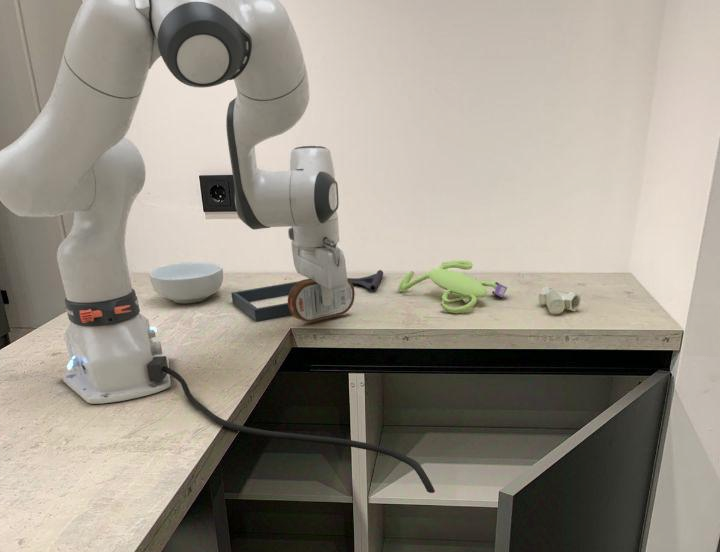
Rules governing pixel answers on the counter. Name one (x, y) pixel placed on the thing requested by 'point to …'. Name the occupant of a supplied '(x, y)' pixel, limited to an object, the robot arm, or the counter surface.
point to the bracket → (368, 281)
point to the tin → (318, 301)
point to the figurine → (455, 284)
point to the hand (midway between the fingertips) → (322, 302)
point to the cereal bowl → (187, 281)
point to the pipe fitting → (559, 300)
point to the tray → (268, 312)
